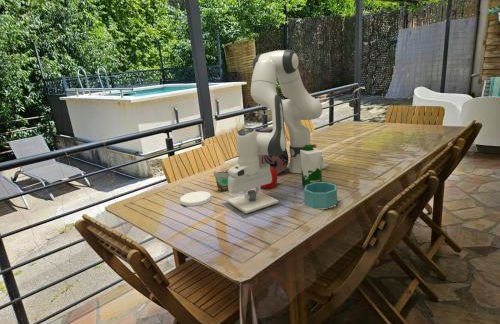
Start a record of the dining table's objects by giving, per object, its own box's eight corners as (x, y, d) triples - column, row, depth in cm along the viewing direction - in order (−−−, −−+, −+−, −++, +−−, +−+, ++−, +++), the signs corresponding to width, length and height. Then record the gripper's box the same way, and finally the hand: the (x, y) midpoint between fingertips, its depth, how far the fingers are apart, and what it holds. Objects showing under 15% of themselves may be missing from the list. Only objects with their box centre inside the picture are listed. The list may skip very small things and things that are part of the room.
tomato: (260, 192, 163) (258, 172, 160) (252, 184, 175) (251, 165, 172) (282, 188, 166) (281, 168, 163) (273, 180, 177) (272, 161, 175)
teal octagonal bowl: (321, 194, 154) (321, 180, 152) (343, 203, 143) (343, 187, 141) (298, 202, 147) (298, 187, 145) (319, 212, 136) (319, 196, 134)
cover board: (258, 192, 159) (257, 182, 158) (278, 202, 146) (277, 191, 145) (227, 201, 152) (226, 191, 150) (246, 213, 138) (244, 202, 137)
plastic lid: (175, 203, 160) (174, 198, 159) (199, 194, 169) (198, 189, 168) (192, 210, 150) (191, 205, 149) (217, 200, 159) (216, 195, 158)
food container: (217, 194, 165) (215, 174, 163) (215, 190, 171) (212, 171, 168) (242, 190, 168) (240, 170, 165) (239, 186, 174) (237, 167, 171)
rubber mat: (259, 193, 162) (259, 192, 162) (284, 205, 145) (284, 204, 145) (221, 204, 153) (221, 203, 152) (244, 219, 136) (243, 218, 136)
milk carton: (316, 182, 169) (315, 143, 164) (325, 188, 161) (323, 147, 155) (299, 185, 167) (297, 145, 162) (307, 191, 159) (305, 149, 153)
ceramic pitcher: (287, 177, 181) (284, 130, 175) (248, 177, 186) (244, 132, 179) (290, 167, 198) (288, 124, 191) (254, 167, 202) (251, 125, 196)
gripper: (265, 160, 152) (267, 189, 156) (224, 171, 142) (228, 201, 146) (273, 163, 147) (275, 193, 151) (231, 174, 137) (235, 206, 141)
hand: (252, 197), depth 148 cm, fingers closed on cover board, 3 cm apart
